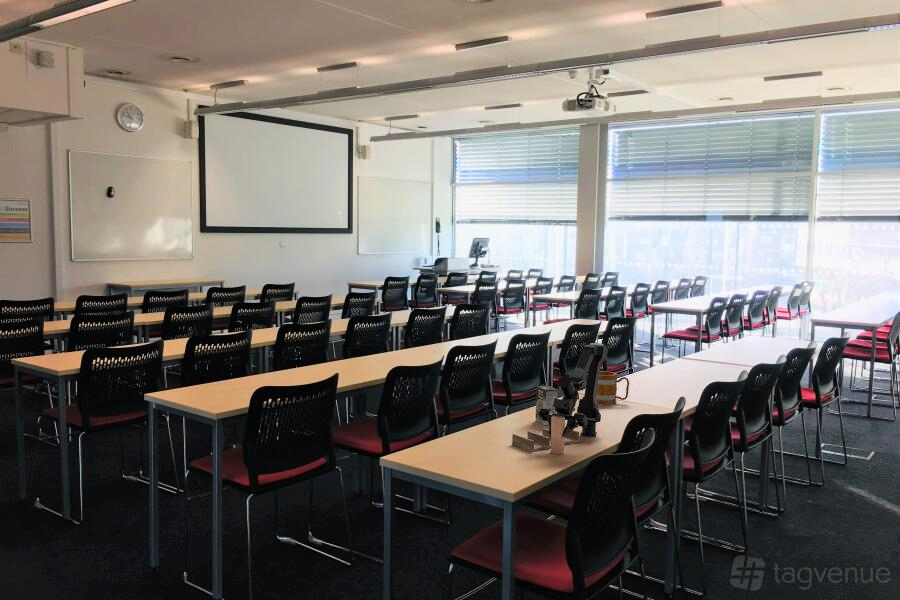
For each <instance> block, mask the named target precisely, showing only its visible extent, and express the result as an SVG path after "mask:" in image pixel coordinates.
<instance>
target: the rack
mask: <svg viewBox="0 0 900 600" xmlns="http://www.w3.org/2000/svg"><path fill="white" fill-rule="evenodd" d="M511 438H512V439H511V444H512V445H513V446H515V447H518V448H521V449H523V450H527V451H529V452H531V451H532V452H533V451H534V452H538V451H543V450H547V448H548V449H551V435H549V428H548V429H547V428H545V427H543V428H542V433H541V434H539V433H536V432H533V431H531V430H529V431H527V437H524V436H522V435H519V434H516V433H513V434H512V437H511ZM574 442H577V443H579V442H580V431H577V430H574V429H573V430H572V431H570V432H569V433H568V434H567V435H566V436H565V437H564V446H566V445H565V444H567V445H571V444H570V443H572V444H575V443H574Z"/></svg>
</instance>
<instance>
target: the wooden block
mask: <svg viewBox="0 0 900 600" xmlns="http://www.w3.org/2000/svg"><path fill="white" fill-rule="evenodd" d="M565 427H566V420H565V417H563V416H552V417H551V448H550V454H551V455H555V454H562V455H564V454H565V445H564V437H562V435H563V431H564V429H565Z"/></svg>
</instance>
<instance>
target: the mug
mask: <svg viewBox="0 0 900 600" xmlns="http://www.w3.org/2000/svg"><path fill="white" fill-rule="evenodd" d="M622 380H625V381H626V388H625V396H624V397H621V396H618V395H617V390H618V384H617V383H620V382H621V381H622ZM629 389H630V380H629V378H628V377H626V376H623V377H620V378H619V379H618V373H617V372H613V371H608V370H606V371H605V370H600V372H599V379H598V385H597V392H596V401H597V403H598V404H602V405H601V406H613V405H616V404H617V399H618V400H620V401H625V400H627V398H628V396H629ZM612 404H613V405H612Z"/></svg>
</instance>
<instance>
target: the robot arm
mask: <svg viewBox="0 0 900 600" xmlns="http://www.w3.org/2000/svg"><path fill="white" fill-rule="evenodd" d="M608 353H609V348H608V347H607V345H606V344H605V343H597V342H594V343H593V342H591V343H589V344H585V345H583V348H582V353H581V355H580V356H579V357H580V358H579V359H578V361H577V364H576V366H575V368H574V369H573V370H572V371H570V372H569V373H564V375H562V376H560V377H559V378H558V379H557V380H556V385H557V387H558V389H559V391H560V393H561V395H562V398H561V399H560V398H557V399H554V403H553V407H555V411H557V413H553V412H551V410H550V409H548V408H541V409H540V410H539V414H540V416H541V418H542V420H543V421H548V422H549V425H548V430H549V435H551V417H552V416H563V417H565V421H566V423H565V429H564V431H563V435H562V437H565V436H566V435H567V434H568V433H569V432H570V431H572V430H574V429H576V428H579V427H581V431H580V436H581V435H585V436H584V437H593V436H596V437H597V435H596V434H598V431H596V430H597V423H601V419H602V414H601V413H600V410H599V405H598V403H597V401H596V392H597V385H598V379H599V372H600V371H601V365H602V364H603V363H604V362H605V360H606V359H607V355H608ZM586 376H587V378H586ZM583 390H585V391H584V396H583V397H582V398H580V393H579V392H578V391H583ZM577 402H578V406H577V408H575V407H576V405H577ZM575 411H576V412H575ZM573 413H574V414H573Z"/></svg>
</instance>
